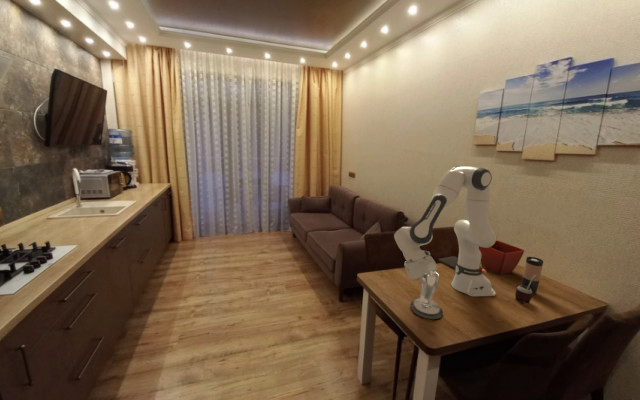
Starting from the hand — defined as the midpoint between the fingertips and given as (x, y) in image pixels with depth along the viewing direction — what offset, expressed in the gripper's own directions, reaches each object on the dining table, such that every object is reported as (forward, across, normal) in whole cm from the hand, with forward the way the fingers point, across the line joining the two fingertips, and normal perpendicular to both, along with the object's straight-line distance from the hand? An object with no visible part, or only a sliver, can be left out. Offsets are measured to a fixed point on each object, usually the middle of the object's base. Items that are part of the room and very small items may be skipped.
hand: (430, 283), depth 129 cm
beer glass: (+6, 0, +8) cm, 10 cm away
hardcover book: (0, +67, +22) cm, 71 cm away
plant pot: (+11, +84, +9) cm, 86 cm away
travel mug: (+27, +67, -6) cm, 73 cm away
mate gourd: (+28, +52, -8) cm, 60 cm away
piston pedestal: (+10, 0, +11) cm, 15 cm away
